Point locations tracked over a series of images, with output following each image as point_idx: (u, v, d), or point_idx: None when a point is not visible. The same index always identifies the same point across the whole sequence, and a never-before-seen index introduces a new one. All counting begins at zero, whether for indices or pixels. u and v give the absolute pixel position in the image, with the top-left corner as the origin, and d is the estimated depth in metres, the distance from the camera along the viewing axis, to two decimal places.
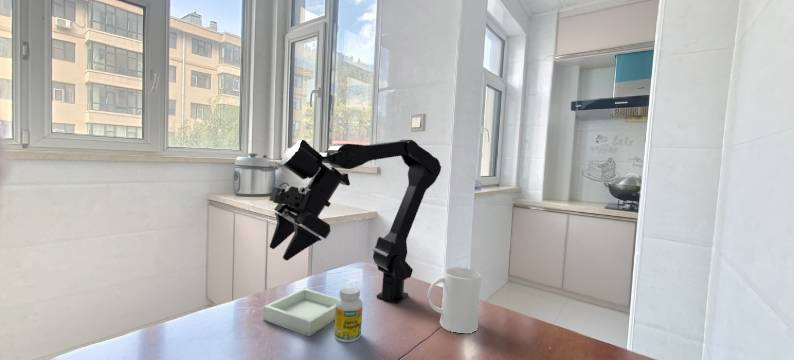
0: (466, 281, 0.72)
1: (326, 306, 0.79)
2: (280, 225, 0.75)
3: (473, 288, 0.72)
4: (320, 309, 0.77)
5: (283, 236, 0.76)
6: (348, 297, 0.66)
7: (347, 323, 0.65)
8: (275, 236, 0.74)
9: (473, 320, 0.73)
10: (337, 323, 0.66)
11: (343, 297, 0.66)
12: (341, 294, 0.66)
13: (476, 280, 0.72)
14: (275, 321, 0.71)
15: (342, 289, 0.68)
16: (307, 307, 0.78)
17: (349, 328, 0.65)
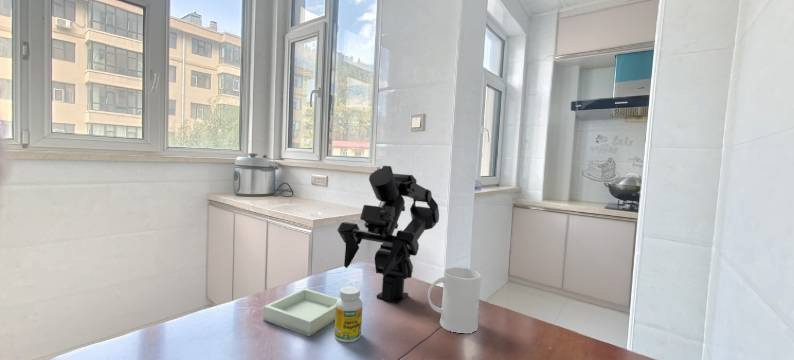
0: (466, 281, 0.72)
1: (326, 306, 0.79)
2: (351, 244, 0.77)
3: (473, 288, 0.72)
4: (320, 309, 0.77)
5: (352, 255, 0.77)
6: (348, 297, 0.66)
7: (347, 323, 0.65)
8: (349, 255, 0.75)
9: (473, 320, 0.73)
10: (337, 323, 0.66)
11: (343, 297, 0.66)
12: (341, 294, 0.66)
13: (476, 280, 0.72)
14: (275, 321, 0.71)
15: (342, 289, 0.68)
16: (307, 307, 0.78)
17: (349, 328, 0.65)
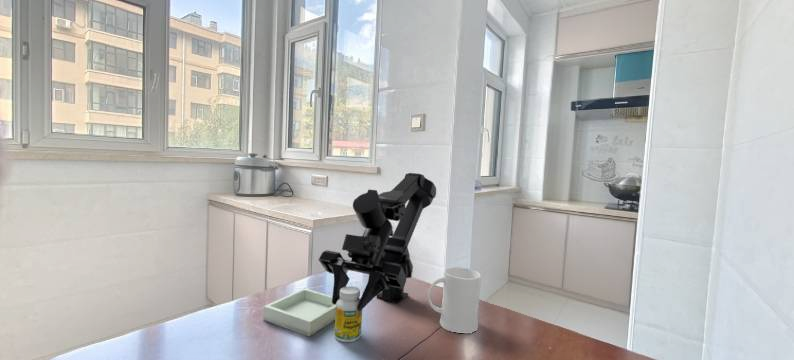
0: (466, 281, 0.72)
1: (326, 306, 0.79)
2: (340, 278, 0.70)
3: (473, 288, 0.72)
4: (320, 309, 0.77)
5: None
6: (348, 297, 0.66)
7: (347, 323, 0.65)
8: (337, 290, 0.69)
9: (473, 320, 0.73)
10: (337, 322, 0.66)
11: (343, 297, 0.66)
12: (341, 294, 0.66)
13: (476, 280, 0.72)
14: (275, 321, 0.71)
15: (342, 289, 0.68)
16: (307, 307, 0.78)
17: (349, 328, 0.65)
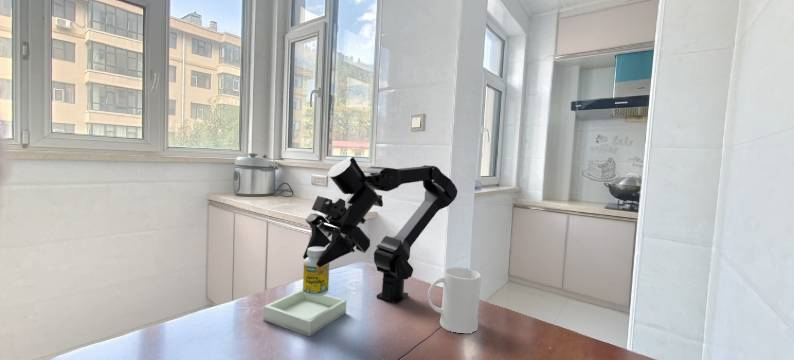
0: (466, 281, 0.72)
1: (326, 306, 0.79)
2: (316, 237, 0.76)
3: (473, 288, 0.72)
4: (320, 309, 0.77)
5: None
6: (311, 253, 0.70)
7: (309, 278, 0.70)
8: None
9: (473, 320, 0.73)
10: (303, 277, 0.72)
11: (307, 253, 0.71)
12: (307, 251, 0.72)
13: (476, 280, 0.72)
14: (275, 321, 0.71)
15: (311, 247, 0.73)
16: (307, 307, 0.78)
17: (310, 283, 0.70)
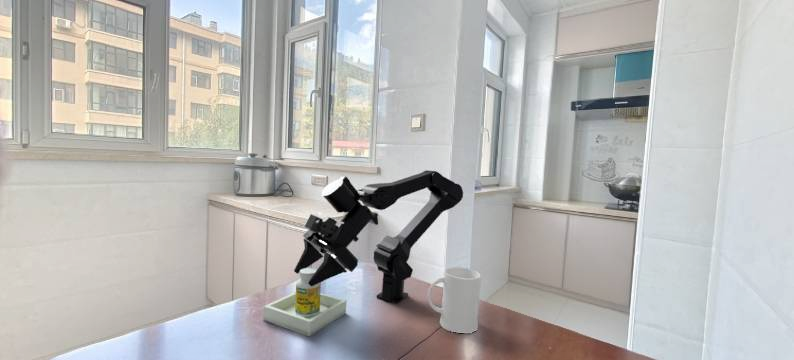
0: (466, 281, 0.72)
1: (326, 306, 0.79)
2: (307, 252, 0.79)
3: (473, 288, 0.72)
4: (320, 309, 0.77)
5: (308, 263, 0.79)
6: (302, 275, 0.73)
7: (299, 299, 0.73)
8: (301, 261, 0.78)
9: (473, 320, 0.73)
10: None
11: (299, 275, 0.74)
12: (299, 272, 0.74)
13: (476, 280, 0.72)
14: (275, 321, 0.71)
15: (304, 269, 0.76)
16: None
17: (301, 304, 0.73)
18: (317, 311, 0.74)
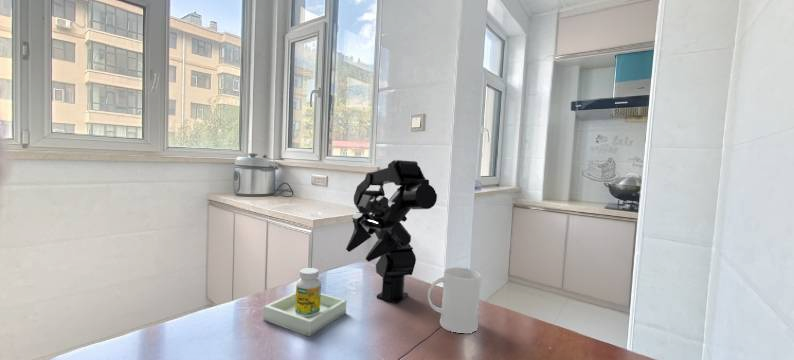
0: (466, 281, 0.72)
1: (326, 306, 0.79)
2: (358, 232, 0.83)
3: (473, 288, 0.72)
4: (320, 309, 0.77)
5: (358, 242, 0.83)
6: (302, 275, 0.73)
7: (299, 299, 0.73)
8: (352, 240, 0.82)
9: (473, 320, 0.73)
10: None
11: None
12: (300, 272, 0.75)
13: (476, 280, 0.72)
14: (275, 321, 0.71)
15: (304, 269, 0.76)
16: None
17: (301, 304, 0.73)
18: (317, 311, 0.74)
